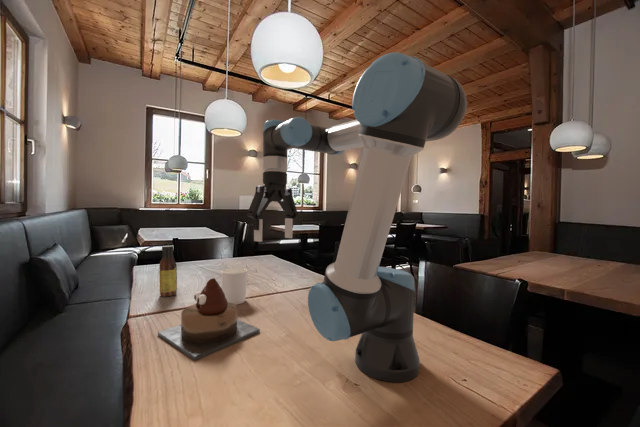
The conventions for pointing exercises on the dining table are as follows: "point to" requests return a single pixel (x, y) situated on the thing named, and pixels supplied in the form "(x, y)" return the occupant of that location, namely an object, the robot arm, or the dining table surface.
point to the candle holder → (234, 284)
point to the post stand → (207, 331)
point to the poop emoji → (211, 299)
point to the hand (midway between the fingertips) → (274, 239)
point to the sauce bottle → (168, 273)
